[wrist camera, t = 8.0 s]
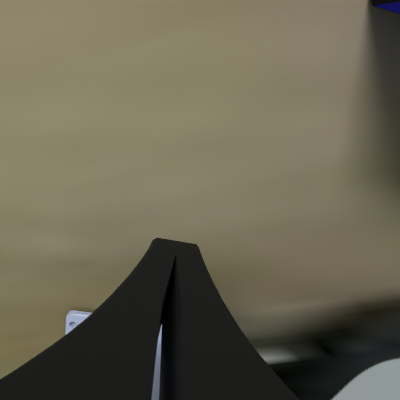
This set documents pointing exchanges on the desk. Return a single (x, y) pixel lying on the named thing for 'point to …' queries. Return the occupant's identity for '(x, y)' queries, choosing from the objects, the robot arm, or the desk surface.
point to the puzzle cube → (388, 5)
